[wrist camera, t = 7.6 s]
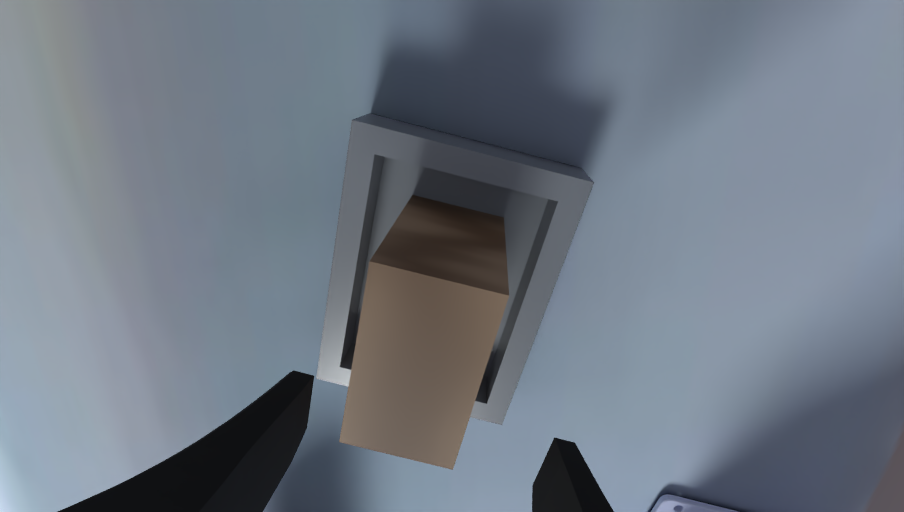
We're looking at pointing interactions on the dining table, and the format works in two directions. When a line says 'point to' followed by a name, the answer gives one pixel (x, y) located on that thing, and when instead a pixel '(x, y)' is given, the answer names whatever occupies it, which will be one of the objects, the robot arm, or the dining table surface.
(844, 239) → the dining table surface
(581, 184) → the grey shallow tray
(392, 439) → the brown block
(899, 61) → the dining table surface
